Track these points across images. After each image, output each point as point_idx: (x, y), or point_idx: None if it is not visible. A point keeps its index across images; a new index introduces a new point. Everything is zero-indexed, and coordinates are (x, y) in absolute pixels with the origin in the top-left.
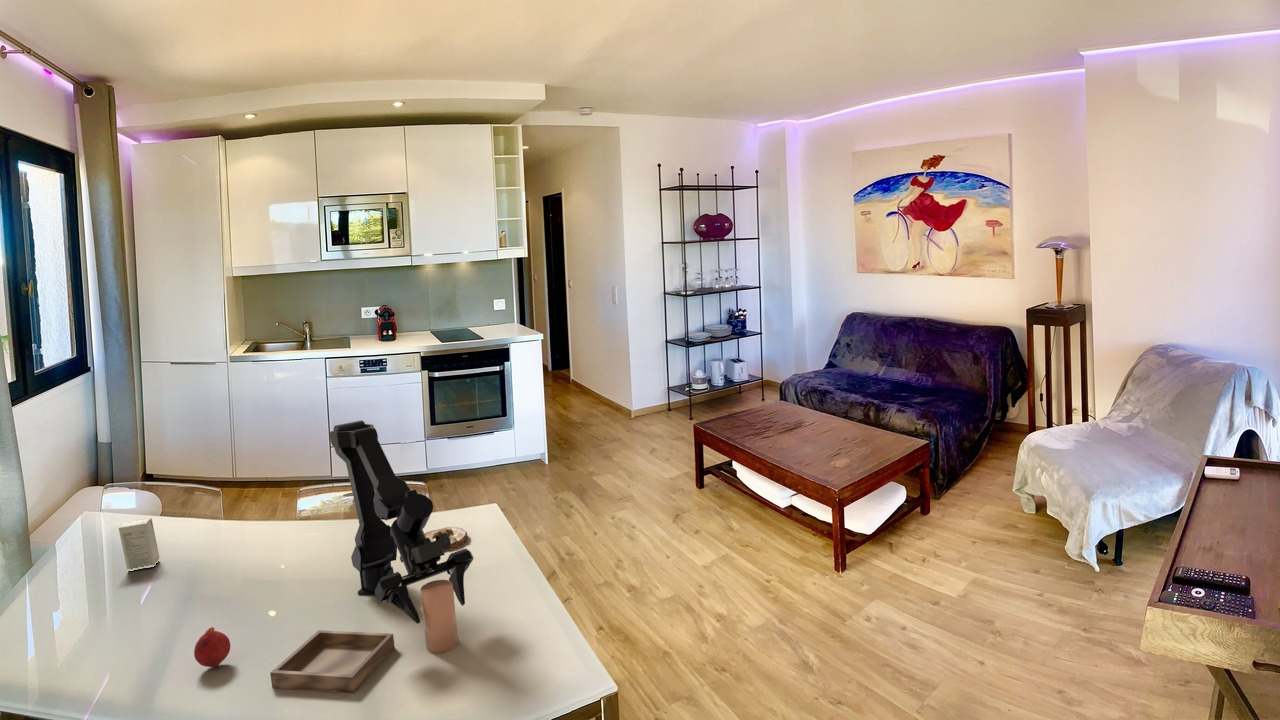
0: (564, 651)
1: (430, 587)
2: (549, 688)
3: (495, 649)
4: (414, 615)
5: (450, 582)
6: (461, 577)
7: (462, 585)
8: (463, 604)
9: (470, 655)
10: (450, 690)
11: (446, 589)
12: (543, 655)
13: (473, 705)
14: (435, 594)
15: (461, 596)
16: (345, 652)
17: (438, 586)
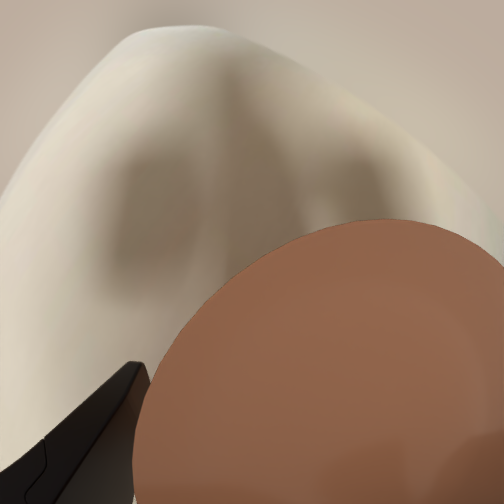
0: (77, 115)
1: (464, 491)
2: (185, 52)
3: (160, 220)
4: None
5: (152, 469)
6: (4, 490)
7: (50, 441)
8: (142, 367)
9: (238, 247)
10: (352, 145)
11: (327, 271)
12: (108, 123)
13: (323, 84)
14: (478, 249)
15: (121, 391)
16: None
17: (381, 474)
